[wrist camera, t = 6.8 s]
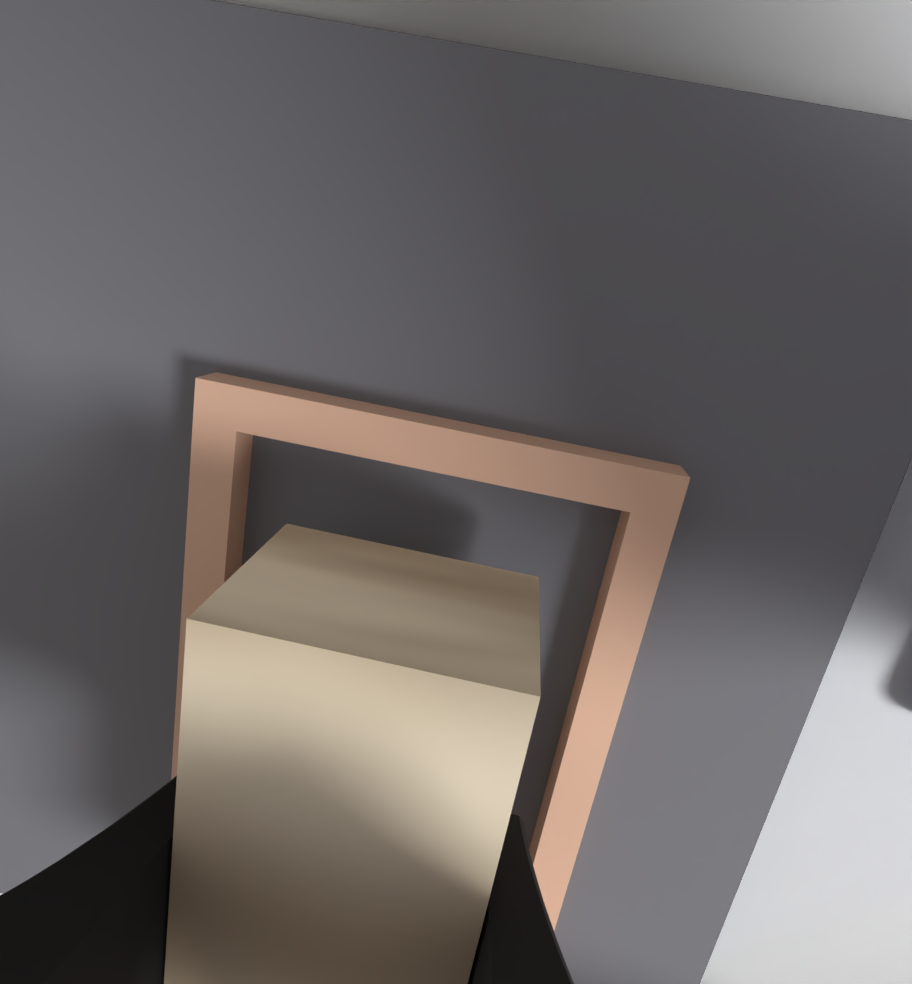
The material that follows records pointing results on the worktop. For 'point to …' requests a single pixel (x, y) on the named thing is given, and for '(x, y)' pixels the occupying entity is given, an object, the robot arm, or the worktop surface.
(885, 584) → the worktop surface
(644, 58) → the worktop surface
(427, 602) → the cream long block
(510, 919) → the robot arm
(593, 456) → the terracotta frame
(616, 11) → the worktop surface
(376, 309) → the rubber mat
